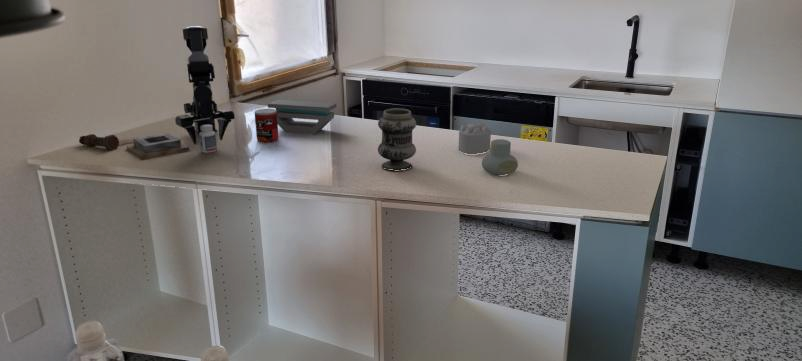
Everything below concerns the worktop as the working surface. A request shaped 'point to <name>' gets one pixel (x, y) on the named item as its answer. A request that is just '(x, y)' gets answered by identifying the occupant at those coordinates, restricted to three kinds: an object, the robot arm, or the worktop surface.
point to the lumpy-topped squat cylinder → (474, 138)
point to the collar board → (159, 153)
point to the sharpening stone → (302, 115)
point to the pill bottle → (207, 139)
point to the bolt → (100, 141)
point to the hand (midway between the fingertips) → (208, 142)
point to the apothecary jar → (397, 138)
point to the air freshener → (500, 158)
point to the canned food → (266, 125)
